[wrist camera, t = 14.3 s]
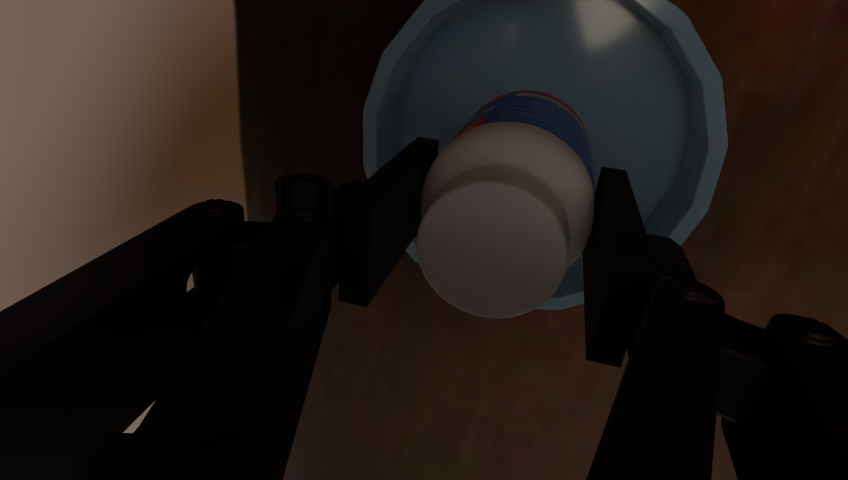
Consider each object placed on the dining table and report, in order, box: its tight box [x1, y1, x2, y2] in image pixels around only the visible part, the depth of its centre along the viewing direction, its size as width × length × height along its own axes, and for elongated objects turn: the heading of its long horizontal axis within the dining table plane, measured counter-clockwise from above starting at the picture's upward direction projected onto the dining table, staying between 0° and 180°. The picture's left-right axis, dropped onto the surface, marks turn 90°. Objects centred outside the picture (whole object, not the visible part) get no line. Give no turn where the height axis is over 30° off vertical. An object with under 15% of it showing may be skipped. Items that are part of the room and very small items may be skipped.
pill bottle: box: [416, 90, 595, 318], centre depth 17 cm, size 6×5×10 cm
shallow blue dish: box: [363, 0, 728, 310], centre depth 23 cm, size 15×16×4 cm
